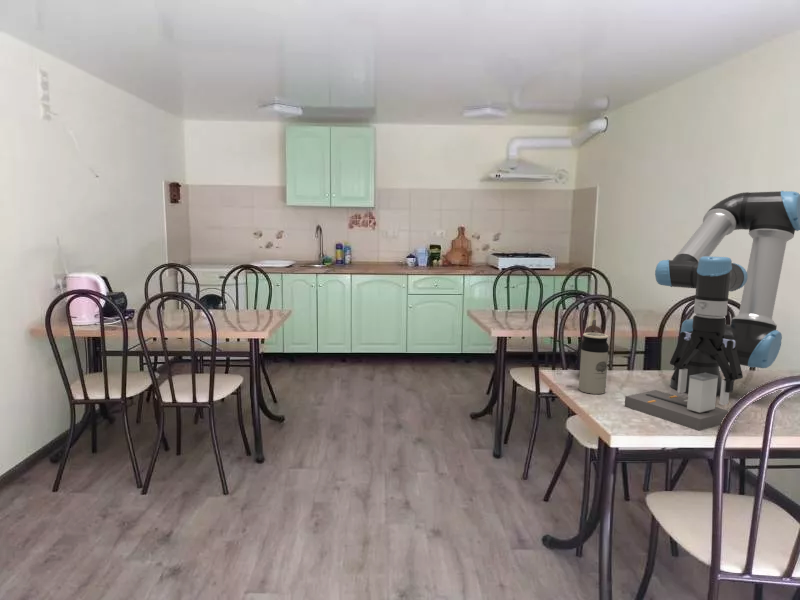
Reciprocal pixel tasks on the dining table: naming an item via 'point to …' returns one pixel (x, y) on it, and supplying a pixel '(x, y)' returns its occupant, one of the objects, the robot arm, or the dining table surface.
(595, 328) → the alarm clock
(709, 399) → the fader
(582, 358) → the travel mug
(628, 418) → the dining table surface
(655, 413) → the console
